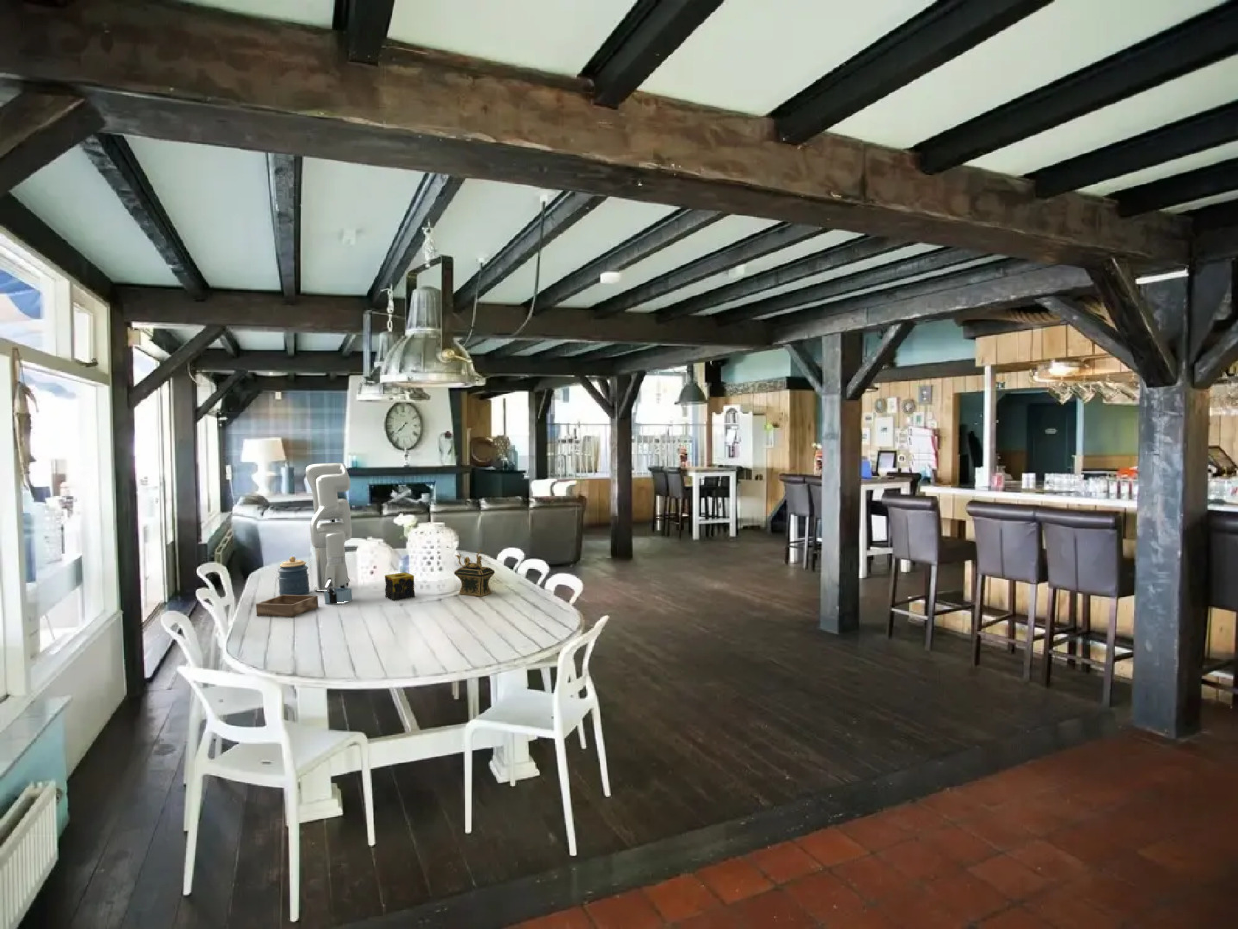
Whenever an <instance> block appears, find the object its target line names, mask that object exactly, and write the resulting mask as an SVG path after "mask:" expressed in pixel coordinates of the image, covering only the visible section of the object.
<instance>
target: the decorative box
mask: <svg viewBox="0 0 1238 929" xmlns="http://www.w3.org/2000/svg"><path fill="white" fill-rule="evenodd" d="M457 552H458V553H459V555H458V554H456V555H455V557H456V558H457V560H458V564H459V565H460V566H461V567H459V568H457V569H456V570H455V571H454V572H453V574H454V576H456V577H457V578H458V579H459V581H460V584H461V586H460V590H459V592H458V595H461V596H462V595H464V596H472V597H473V596H474V597H483V596H486V595H487V596H488V595H490V594H491V593H492V590H491V588H490V585H489V584H490V583H489V582H490V579H491V578H492V577H493V576H494V574H495V570H494V569H492V568H491V567H488V566H483V565H482V558H483V557H482V555H479V554H480V553H482V548H481V549H479V551H478V553H476V562H471V561H470V560H471V559H470V557H469V556H466V557H465V558H463V559H464V560H463V562H464V564H462V563H461V562H462V561H461V558H462V557H461V556H462V555H461V552H460V551H459V550H457Z"/></svg>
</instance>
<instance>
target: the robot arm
mask: <svg viewBox="0 0 1238 929" xmlns="http://www.w3.org/2000/svg"><path fill="white" fill-rule="evenodd" d="M305 476H306V477H305V478H306V481H307V483H308V485H309V487H310V489H311V492H312V504H313V513H314V515H313V516H312V518H311V521H310V525H309V532H310V540H311V545H312V546H313V547H314V552H315V567H316V581H317V582H316V584H317V585H316V586H315V587H314V588H313V591H315V592H316V591H317V590H327V592H328V594H329V598H330V603H337V597H336V594H335V592H336V588H349V587H348V586H349V583H350V582H351V581H350V580H351V579H350V578H349V573H348V566H347V563H346V550H345V548H346V547H345V546H346V545H345V542H347V541H350V540H351V539H352V535H353V530H352V528H353V527H352V517H351V515H352V514H351V506H350V504H349V501H348V500H347V499H345V498H339V497H338V493H343V492H348V491H350V488H351V479H350V475H349V473H348V469H347V466H346V465H345V464H344V462H343V463H342V462H330V463H329V462H328V463H327V462H324V463H314V464H310V465H307V467H306V468H305ZM330 520H331V522H329V521H330ZM332 520H340V521H334V522H332ZM319 521H328V522H321V523H319ZM332 589H333V590H332Z"/></svg>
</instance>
